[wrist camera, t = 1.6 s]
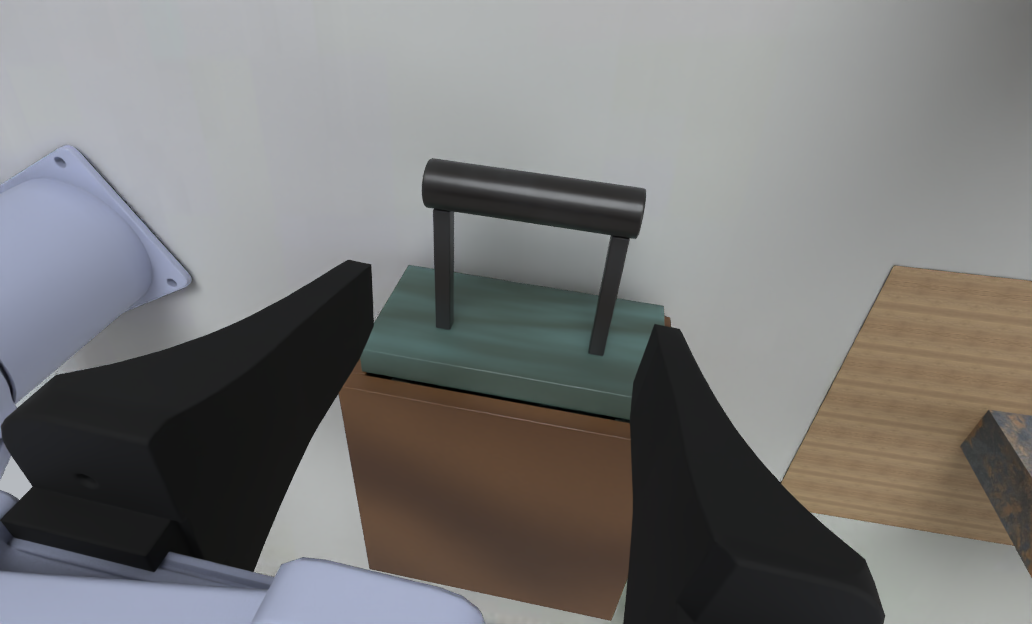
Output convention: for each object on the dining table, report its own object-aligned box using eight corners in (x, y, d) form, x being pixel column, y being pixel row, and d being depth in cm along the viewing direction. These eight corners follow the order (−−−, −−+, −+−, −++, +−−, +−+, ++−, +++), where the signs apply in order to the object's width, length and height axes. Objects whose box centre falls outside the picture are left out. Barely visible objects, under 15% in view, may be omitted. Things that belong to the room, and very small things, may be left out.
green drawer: (400, 113, 21) (334, 178, 17) (708, 155, 20) (726, 236, 16) (418, 442, 33) (383, 531, 29) (613, 479, 32) (608, 578, 28)
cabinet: (403, 273, 27) (336, 385, 21) (670, 316, 26) (678, 448, 20) (415, 453, 36) (369, 569, 30) (616, 492, 34) (611, 621, 28)
